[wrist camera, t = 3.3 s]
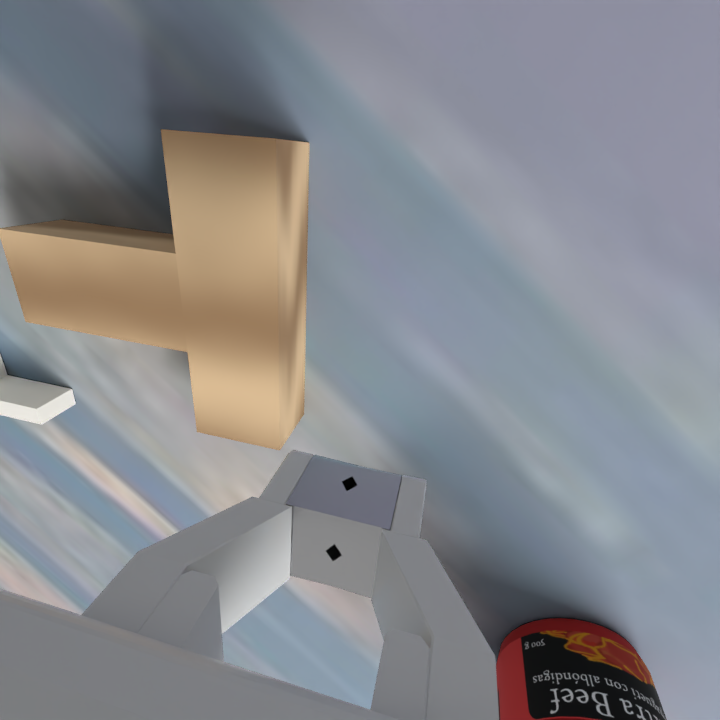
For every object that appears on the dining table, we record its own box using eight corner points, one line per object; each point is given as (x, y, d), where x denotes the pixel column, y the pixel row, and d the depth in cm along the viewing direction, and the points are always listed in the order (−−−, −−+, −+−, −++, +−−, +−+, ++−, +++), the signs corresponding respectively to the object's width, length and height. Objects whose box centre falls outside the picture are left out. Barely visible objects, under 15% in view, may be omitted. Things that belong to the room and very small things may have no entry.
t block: (39, 120, 18) (-38, 113, 15) (309, 142, 15) (276, 138, 13) (97, 371, 23) (48, 398, 20) (304, 413, 21) (279, 450, 18)
